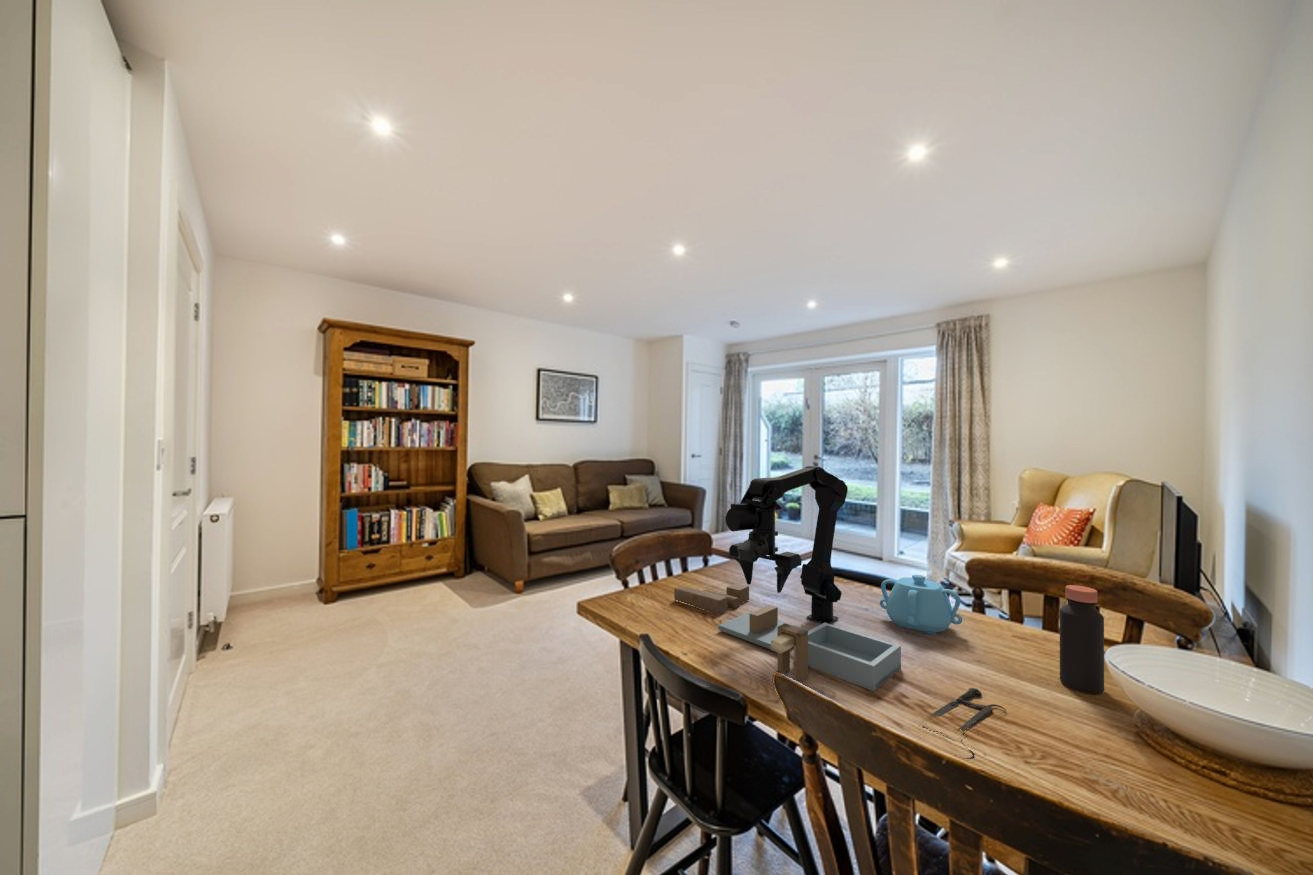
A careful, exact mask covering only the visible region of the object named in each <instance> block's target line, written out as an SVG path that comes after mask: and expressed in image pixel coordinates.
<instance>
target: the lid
mask: <svg viewBox="0 0 1313 875" xmlns="http://www.w3.org/2000/svg"><path fill="white" fill-rule="evenodd" d="M778 608H779V607H778V606H775V605H771V604H769V605H766V606H764V607H761V608H759V609H757V610H754V611H749V612H746V613H744V614H742V615H739V616H737V617H734V618H732V619H729V620H727V621H724V622H722V623H720V624H718V627H717V628H718V629H717V630H719V631H720V632H721V631H722V632H724V633H726V634H729V635H732V636H734V637H737V638H740V639H742V640H745V641H747V642H750V643H752V644H756V645H758V646H760V647H763V648H765V649H768V650H771V640H772V639H774V638H776V637H777V627H778V626H780V625H782V624H785V623H786V624H789V625H792V626H795V627H798V628H801V629H804V630H807V631H809V630H810V629H807V628H804V627H803V626H802V627H801V626H799V625H795V624H792V623H789V622H785V621H782V620H780V619H778V617H779V614H778V611H779V609H778Z"/></svg>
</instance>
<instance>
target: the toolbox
mask: <svg viewBox="0 0 1313 875" xmlns="http://www.w3.org/2000/svg"><path fill="white" fill-rule="evenodd" d="M786 623H787V622H786ZM786 623H785V624H782V625H780V626H778V627H777V637H778V636H780V635H782V634H784V633H787V634H790V635H793V636H795V646H794V647H793V661H795V679H797V680H798V681H802V680H804V679H805V678H806V677H807V678H808V676H809V668H812V669H814V670H818V671H819V672H820V671H821V672H823V673H826V674H827V675H828V674H829V675H831V676H833V677H836V678H839V679H841V680H844V681H847V682H849V683H851V684H855V685H857V686H859V687H862V688H865V689H867V690H870V691H873V692H875V691H876V690H877V689H878V688H879V687H880V686H882V685H883V684H884V683H886V682H887V681H888V680H889V679H891V677H893V676H894V675H895V674H896V673H897V672H899V670H902V645H900V644H896V643H893V642H890V641H887V640H884V639H880V638H877V637H873V636H870V635H868V634H863V633H860V632H857V631H853V630H850V629H847V628H843V627H840V626H837V625H833V624H832V623H830V624H828V623H820V624H819V625H817V626H815V627H813V628H811V629H808V630H809V631H807V630H804V629H801V628H798V627H799V626H798V627H795V626H796V625H795V626H792V625H793V624H792V625H789V624H790V623H789V624H786ZM776 653H777V672H779V671H780V672H779V673H781V672H782V674H783V673H784V672H786V671H788V670H790V669H791V648H790V649H788V650H787V651H785V652H783V653H781V654H780V653H778V652H776Z"/></svg>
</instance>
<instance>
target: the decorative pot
mask: <svg viewBox="0 0 1313 875" xmlns="http://www.w3.org/2000/svg"><path fill="white" fill-rule="evenodd" d="M911 576H912V577H908V576H907V577H906V576H905V577H900V578H899V579H897V580H895V579H892V578H888V579H885V580H883V581H882V582H881V585H880V589H881V593H882V596H883V598H882V599H880V600H879V606H880V607H881V608H882V609H884V610H885V611H886V615H888V617H889V619H890V620H891V622H892V623H895V624H896V625H897V627H899V628H901V629H908V628H909V629H912V630H917V631H923V632H924V633H925V634H928V635H931V636H932V635H936V633H942V632H944V631H946V630H947V629H948V628H949V627H950V625H951V624H954V625H961V624H963V617H962V616H961V615H960V614H959V613H957V612H958V610H959V608H960V606H961V596H960V595H959V594H958V593H957V592H956V591H955V590H952V589H949V588H944V586H943V585H942V584H941V583H940V582H937V581H933V580H929V579H927V576H925V575H922V574H912V575H911ZM886 584H893V586H892V589H891V591H890V592H889V595H888V592H887V588H886V587H887V586H886ZM948 594H949V595H952V596H953V597H954V599H955V602H954V605H953V608H952V603H951V601H950V598H949V596H948ZM955 618H957V619H958V620H957V619H955Z"/></svg>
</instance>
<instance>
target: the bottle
mask: <svg viewBox="0 0 1313 875" xmlns="http://www.w3.org/2000/svg"><path fill="white" fill-rule="evenodd" d="M1065 600H1066V601H1067V603H1066V604H1064V605H1063V606H1061V608H1060V609H1059V680H1060V683H1061V684H1063V686H1065V687H1067V688H1069V689H1072V690H1073V691H1076V692H1080V693H1082V694H1083V693H1084V694H1087V695H1101V694H1103V693H1104V691H1105V618H1104V617H1105V616H1103V614H1101V612H1100V611H1099V610H1097V608H1096V606H1097V605H1098V590H1096V589H1095V588H1093V587H1092V588H1091V587H1089V586H1088V587H1087V586H1083V585H1079V584H1078V585H1076V584H1069V585H1068V584H1067V585H1066V586H1065Z"/></svg>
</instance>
